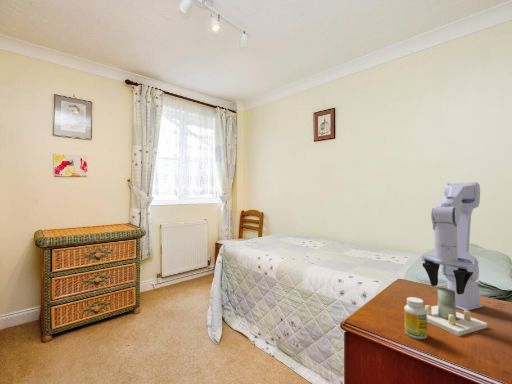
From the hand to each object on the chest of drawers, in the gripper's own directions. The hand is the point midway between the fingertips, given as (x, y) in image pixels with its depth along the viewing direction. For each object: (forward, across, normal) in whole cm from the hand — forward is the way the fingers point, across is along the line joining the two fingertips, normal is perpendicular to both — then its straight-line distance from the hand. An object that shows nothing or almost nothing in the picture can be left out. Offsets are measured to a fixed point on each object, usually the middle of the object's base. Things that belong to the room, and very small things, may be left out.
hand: (446, 289), depth 80 cm
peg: (+8, 0, 0) cm, 8 cm away
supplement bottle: (+10, +2, -16) cm, 19 cm away
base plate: (+10, 0, 0) cm, 10 cm away
